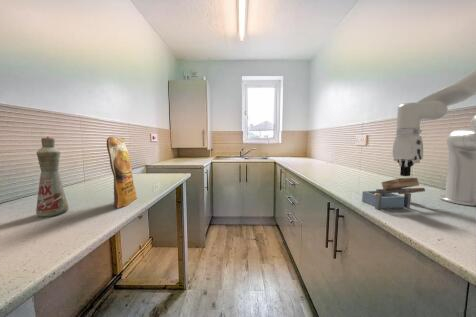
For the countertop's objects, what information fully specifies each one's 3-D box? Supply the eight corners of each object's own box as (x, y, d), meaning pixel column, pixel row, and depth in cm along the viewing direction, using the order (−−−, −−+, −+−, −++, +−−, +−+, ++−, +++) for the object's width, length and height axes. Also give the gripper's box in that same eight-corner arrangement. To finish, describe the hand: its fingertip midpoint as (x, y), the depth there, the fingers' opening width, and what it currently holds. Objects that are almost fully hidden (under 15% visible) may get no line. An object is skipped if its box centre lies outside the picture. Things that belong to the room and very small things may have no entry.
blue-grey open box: (403, 208, 79) (404, 196, 79) (381, 209, 78) (381, 197, 77) (382, 200, 89) (382, 190, 88) (362, 201, 88) (362, 191, 87)
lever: (448, 188, 72) (444, 177, 74) (394, 190, 70) (391, 178, 71) (404, 194, 89) (402, 184, 90) (359, 196, 86) (357, 186, 88)
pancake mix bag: (103, 210, 77) (98, 136, 74) (126, 196, 96) (123, 137, 93) (122, 209, 77) (118, 136, 75) (141, 196, 96) (138, 137, 94)
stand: (409, 208, 79) (411, 193, 78) (378, 209, 77) (379, 194, 76) (406, 206, 80) (407, 192, 80) (374, 208, 79) (375, 193, 78)
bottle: (75, 210, 77) (69, 136, 74) (46, 219, 68) (39, 135, 66) (59, 208, 79) (53, 136, 77) (30, 216, 71) (22, 136, 68)
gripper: (434, 132, 79) (431, 178, 80) (399, 133, 93) (397, 172, 95) (417, 132, 78) (414, 179, 79) (384, 133, 92) (382, 173, 94)
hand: (405, 175), depth 87 cm, fingers closed
